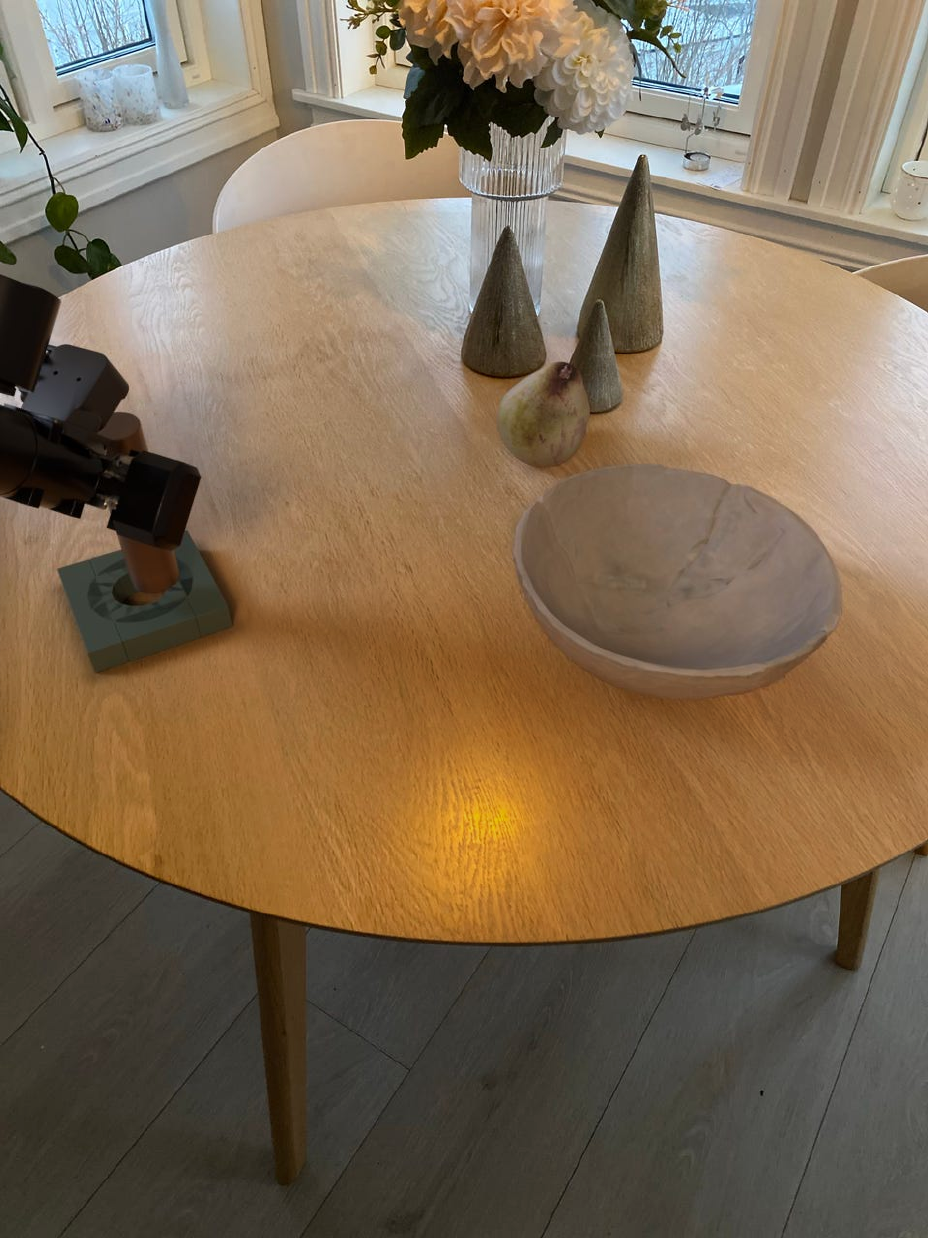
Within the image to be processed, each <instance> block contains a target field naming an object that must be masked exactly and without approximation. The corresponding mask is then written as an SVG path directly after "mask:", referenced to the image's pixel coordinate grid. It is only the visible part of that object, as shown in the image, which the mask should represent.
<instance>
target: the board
mask: <svg viewBox="0 0 928 1238" xmlns="http://www.w3.org/2000/svg"><path fill="white" fill-rule="evenodd" d="M174 553H175V556H176V560H177V564H178V568H179V572H180V576H179V579H178V581H177V582H176V583H175V584H174V585H173V586H172V587H171V588H169V589H167V590H165V591H164V593H163V594H162V596H160V597H159V598H157V599H155V600H154V601H152V602H149V603H146V604H141V605H128V604H124V602H125V600H126V599H127V598H129V597H130V596H132V595H133V594H136V593H139V592H140V591H138V590H137V589H135V588H134V587H133V585H132V583H131V579H130V576H129V573H128V570H127V566H126V563H125V560H124V557H123V553H122V550H121V549H118V550H114V551H111V552H108V553H105V554H101V555H98V556H95V557H94V556H93V557H91V558H89V559H85V560H81V561H78V562H75V563H72V564H68V565H65V566H61V567H58V568H57V569H56V571H57V573H58V577H59V580H60V582H61V585H62V587H63V591H64V593H65V596H66V598H67V601H68V604H69V607H70V610H71V612H72V615H73V618H74V620H75V623H76V626H77V629H78V632H79V635H80V637H81V640H82V643H83V645H84V648H85V651H86V654H87V656H88V659H89V661H90V664H91V667H92V670H93V672H94V674H97V673H100V672H103V671H106V670H109V669H112V668H115V667H119V666H121V665H123V664H127V663H131V662H133V661H136V660H139V659H141V658H145V657H148V656H151V655H153V654H157V653H160V652H162V651H166V650H169V649H171V648H174V647H177V646H180V645H183V644H186V643H189V642H192V641H195V640H198V639H200V638H203V637H206V636H209V635H213V634H215V633H217V632H218V633H219V632H220V631H224V630H227V629H229V628H233V626H234V625H233V622H232V616H231V611H230V607H229V605H228V603H227V601H226V599H225V597H224V596H223V594H222V591H221V590H220V588H219V586H218V584H217V582H216V580H215V578H214V577H213V575H212V573H211V571H210V570H209V568H208V566H207V564H206V562H205V560H204V558H203V556H202V555H201V552H200V550H199V548H198V547H197V545H196V543H195V542H194V539H193V538H192V536H191V534H190V532H189V530H188V529H185V532H184V535H183V538H182V542H181V545H180V546H179V547H178V548H176V549H174Z"/></svg>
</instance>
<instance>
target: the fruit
mask: <svg viewBox="0 0 928 1238" xmlns="http://www.w3.org/2000/svg"><path fill="white" fill-rule="evenodd" d="M590 414H591V407H590V402H589V398H588V394H587V391H586V388H585V385H584V382H583V378H582V375H581V372H580V371H579V369H578V368H577V367H575V366H574V365H573V364H571V363H570V362H567V361H554V362H552V363H548V364H547V365H545V366H543V367H542V368H540V369H538V370H536V371H534V372H532V373H530V374H528V375H527V376H526V377H524V378H522V380H520V381H519V382H518V383H517V384H515V385H513V387H512V388H510V389H509V390H508V391H507V392H506V393H505V395H504V396H503V397H502V398H501V400H500V403H499V406H498V411H497V415H496V416H497V417H496V428H497V432H498V435H499V437H500V440H501V441H502V443H503V444H504V446H505V447H506V448H507V450H508V451H509V452H510V453H511V454H512V455H513V456H514V457H515V458H517V459H518V460H519V461H521V462H523V463H525V464H527V465H530V466H532V467H535V468H542V467H543V468H544V467H546V468H547V467H556V466H560V465H562V464H563V463H565V462H567V461H568V460H570V459H571V458H572V457H573V456H574V455H575V454H576V453H577V451H578V450H579V448H580V447H581V445H582V442H583V441H584V438H585V434H586V431H587V425H588V423H589V419H590Z"/></svg>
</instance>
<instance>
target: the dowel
mask: <svg viewBox="0 0 928 1238" xmlns="http://www.w3.org/2000/svg"><path fill="white" fill-rule="evenodd" d="M97 434H99V435H102V436H104V437H107V438H110V439H111V440H110V444H109V447H108V450H107V453H106V455H105V456H102V455H100V457H102V458H105V459H108V460H112V459H113V458H114V457H115V456H116V455H117V454H125V455H128V456H129V453H130V450H131V449H132V450H135V451H138V452H141V451H143V450H145V451H148V452H149V448H148V445H147V441H146V438H145V434H144V430H143V426H142V421H141V420H140V418H139V417H138V416H137V415H136V414H133V413H130V412H127V411H126V412H125V411H114V413H113V415H112V416H111V418H110V420H109V421H108V423H107V424H106V426H105V427H104V428H103V429H102V430H101V431H99V432H98V433H97ZM113 473H115V472H113ZM115 474H118V473H115ZM120 475H121V474H120ZM102 476H104V477H107V478H110V477H111V475H109V474H106V473H103V472H102ZM103 492H104V491H103ZM105 494H106V492H104V495H105ZM112 502H113V501H110V500H109V503H108V506H107V509H108V511H109V514H111V511H112V508H111V503H112ZM115 533H116V537H117V540H118V543H119V547H120V550H122V553H123V557H124V560H125V563H126V566H127V570H128V573H129V576H130V579H131V583H132V585H133V587H134V588H135V589H137V590H138V591H139V592H141V593H144V594H157V593H161V592H166V591H165V590H167V589H169V588H171V587H172V586H173V585H174V584H175V583H176V582H177V581H178V579H179V576H180V572H179V568H178V564H177V560H176V556H175V553H174V550H173V551H168V550H164V549H159V548H155V547H152V546H149V545H146V544H144V543H141V542H138V541H135V540H132V539H129V538H126V537H123V536H120V535H117V532H116V531H115Z"/></svg>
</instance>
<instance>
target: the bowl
mask: <svg viewBox="0 0 928 1238" xmlns="http://www.w3.org/2000/svg"><path fill="white" fill-rule="evenodd" d="M512 556H513V563H514V567H515V570H516V574H517V579H518V582H519V585H520V588H521V591H522V593H523V596H524V598H525V601H526V603H527V605H528V608H529V610H530V611H531V614H532V615H533V617H534V619H535V621H536V622H537V624H538V625H539V627H540V628H541V629H542V632H544V634H545V635H546V636H547V638H549V640H550V641H551V642H552V644H553V646H555V647H556V648H557V649H558V650H559V652H561V653H562V654H563V655H564V656H565V657H567V658H568V659H569V661H571V662H572V663H574V664H575V665H576V666H578V667H579V668H581V669H582V670H583V671H585V672H587V673H588V674H590V675H591V676H593V677H594V678H597V679H598V680H600V681H602V682H605V683H606V684H609V685H611V686H613V687H616V688H618V689H619V690H620V689H621V690H624V691H626V692H628V693H632V694H636V695H639V696H643V697H648V698H652V699H662V700H663V699H665V700H676V701H700V700H710V699H714V698H720V697H728V696H729V697H730V696H740V695H745V694H750V693H753V692H755V691H757V690H761V689H763V688H766V687H768V686H771V685H774V684H778V683H780V682H782V681H784V680H786V675H787V674H789V672H790V671H792V670H794V669H796V668H797V667H798V666H799V665H801V664H803V663H804V662H805V661H806V660H808V658H809V657H810V656H811V655H813V654H814V653H815V652H816V651H818V650H819V649H820V648H821V647H822V645H824V644H825V643H826V642H827V640H828V638H829V637H830V636H831V634H832V633H834V632H835V630H836V629H837V627H838V625H839V623H840V620H841V617H842V612H843V594H842V593H843V591H842V583H841V579H840V575H839V571H838V569H837V566H836V564H835V562H834V559H833V558H832V555H831V554H830V552H829V550H828V549H827V547H826V545H825V544H824V542H823V541H822V539H821V538H820V536H819V535H818V533H817V532H816V531H815V530H814V528H812V526H811V525H810V524H809V523H808V522H807V521H805V520H804V519H803V518H802V517H801V516H800V515H799V514H798V513H796V512H794V511H793V510H792V509H790V508H789V507H788V506H786V505H785V504H783V503H781V502H780V501H778V499H776V498H774V497H772V496H770V495H768V494H766V493H764V492H762V491H760V490H759V489H756V488H755V487H753V486H750V485H746V484H740V483H735V484H732V483H731V482H729V481H728V480H727V479H726V478H725V479H724V478H722V477H719V476H716V475H714V474H710V473H705V472H700V471H694V470H688V469H681V468H674V467H669V466H666V465H662V464H659V463H632V464H631V463H630V464H624V465H610V466H604V467H600V468H595V469H590V470H587V471H584V472H578V473H575V474H572V475H570V476H568V477H565V478H564V479H562V480H560V481H558V482H556V483H554V484H553V485H552V486H551V487H549V488H548V489H547V490H546V491H545V492H544V493H543V494H542V495H540V497H539V500H538V501H534V503H533V504H531V505H530V506H529V507H527V508H526V509H525V510H524V512H523V513H522V515H521V517H520V519H519V521H518V523H517V524H516V529H515V534H514V540H513V547H512Z"/></svg>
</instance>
